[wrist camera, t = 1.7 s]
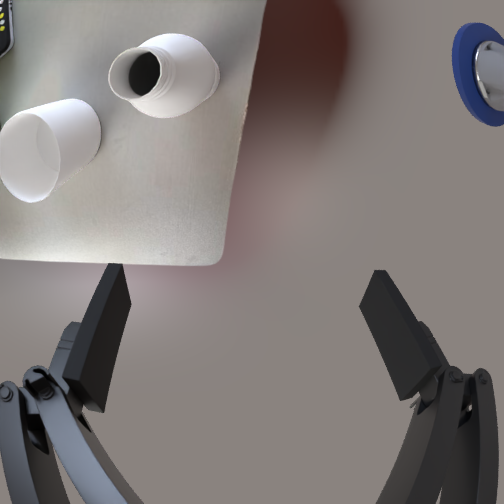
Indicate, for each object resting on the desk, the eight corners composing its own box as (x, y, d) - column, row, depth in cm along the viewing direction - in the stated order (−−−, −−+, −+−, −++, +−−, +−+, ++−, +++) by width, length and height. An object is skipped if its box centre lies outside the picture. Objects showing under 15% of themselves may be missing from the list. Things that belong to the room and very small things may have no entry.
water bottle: (214, 106, 34) (190, 147, 13) (162, 99, 33) (68, 135, 12) (226, 57, 30) (221, 15, 10) (173, 50, 29) (88, 13, 8)
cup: (32, 123, 31) (-15, 144, 21) (84, 84, 29) (37, 91, 19) (60, 182, 37) (20, 216, 27) (113, 150, 36) (76, 178, 26)
